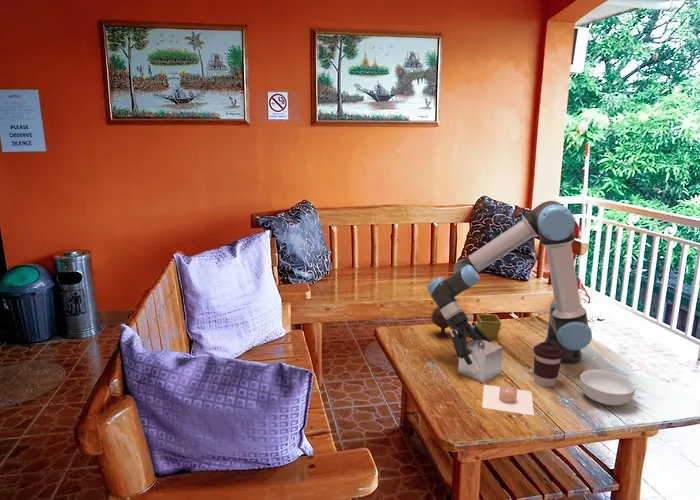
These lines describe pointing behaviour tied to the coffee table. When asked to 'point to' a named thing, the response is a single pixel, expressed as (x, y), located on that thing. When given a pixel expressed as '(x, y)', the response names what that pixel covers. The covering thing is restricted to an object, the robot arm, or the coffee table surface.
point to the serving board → (520, 406)
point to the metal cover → (482, 360)
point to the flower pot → (489, 325)
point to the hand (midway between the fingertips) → (486, 367)
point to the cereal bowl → (607, 387)
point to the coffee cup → (547, 363)
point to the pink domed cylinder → (508, 394)
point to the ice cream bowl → (440, 323)
